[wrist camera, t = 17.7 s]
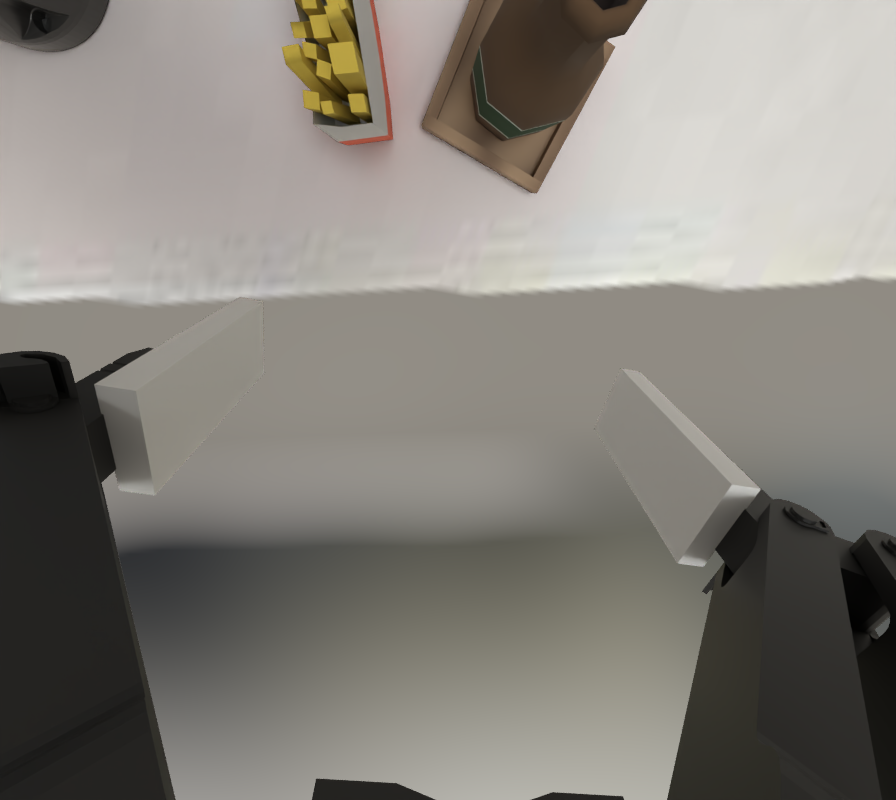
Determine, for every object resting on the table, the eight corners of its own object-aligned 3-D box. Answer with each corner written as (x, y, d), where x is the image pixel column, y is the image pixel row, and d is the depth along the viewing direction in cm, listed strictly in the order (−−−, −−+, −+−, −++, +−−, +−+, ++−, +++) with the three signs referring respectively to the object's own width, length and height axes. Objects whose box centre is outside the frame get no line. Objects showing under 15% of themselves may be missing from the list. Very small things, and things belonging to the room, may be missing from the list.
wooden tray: (422, 128, 38) (421, 125, 36) (484, -32, 33) (488, -46, 30) (531, 192, 41) (536, 193, 38) (604, 54, 35) (615, 46, 33)
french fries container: (348, 147, 38) (285, 126, 23) (318, -8, 33) (209, -175, 17) (396, 141, 38) (366, 115, 22) (373, -16, 33) (313, -192, 17)
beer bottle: (478, 23, 34) (545, -237, 12) (567, 46, 34) (771, -162, 13) (459, 133, 37) (487, 75, 16) (541, 151, 38) (668, 119, 17)
